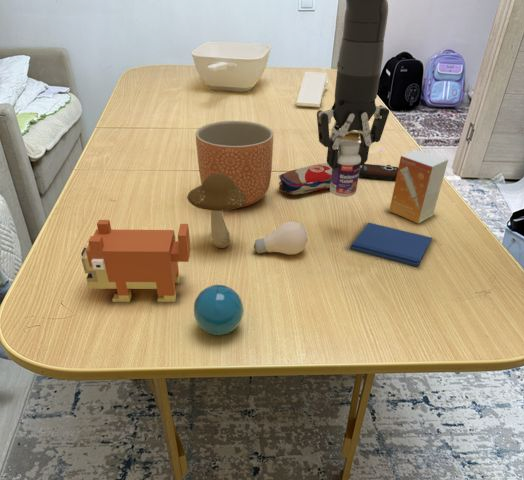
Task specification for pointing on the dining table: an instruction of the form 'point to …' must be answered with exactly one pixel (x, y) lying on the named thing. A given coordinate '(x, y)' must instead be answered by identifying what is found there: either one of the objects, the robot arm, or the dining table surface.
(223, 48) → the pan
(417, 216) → the small box
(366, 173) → the camera
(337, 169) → the pill bottle
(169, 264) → the toy character
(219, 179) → the mushroom
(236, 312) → the ball
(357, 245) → the book
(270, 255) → the dining table surface
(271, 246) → the light bulb
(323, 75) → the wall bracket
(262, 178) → the planter
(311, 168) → the pencil case
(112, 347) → the dining table surface
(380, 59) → the robot arm
